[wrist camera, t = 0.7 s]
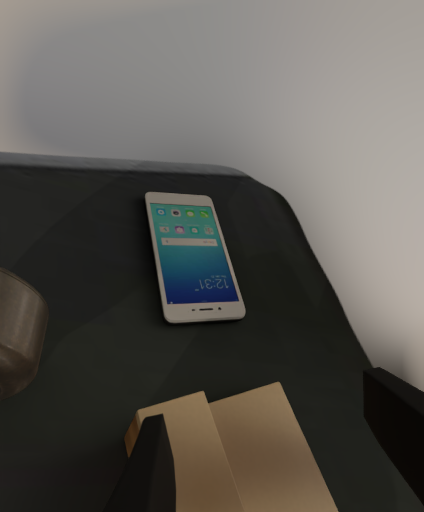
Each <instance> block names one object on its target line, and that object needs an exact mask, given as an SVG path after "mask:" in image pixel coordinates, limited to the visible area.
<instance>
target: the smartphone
mask: <svg viewBox="0 0 424 512" xmlns="http://www.w3.org/2000/svg"><path fill="white" fill-rule="evenodd" d="M144 205H145V211H146V217H147V223H148V230H149V236H150V242H151V248H152V254H153V261H154V267H155V275H156V280H157V286H158V292H159V298H160V304H161V311H162V317H163V320H164V322H165V323H167V324H168V325H182V324H198V323H214V322H230V321H239V320H242V318H243V317H244V315H245V307H244V303H243V300H242V297H241V294H240V290H239V287H238V284H237V281H236V277H235V274H234V271H233V268H232V264H231V261H230V258H229V255H228V251H227V248H226V245H225V242H224V238H223V235H222V232H221V229H220V225H219V222H218V219H217V216H216V212H215V209H214V206H213V203H212V200H211V198H209V197H208V196H201V195H187V194H173V193H159V192H148V193H146V195H145V199H144Z"/></svg>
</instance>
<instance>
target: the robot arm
mask: <svg viewBox="0 0 424 512" xmlns="http://www.w3.org/2000/svg"><path fill="white" fill-rule="evenodd" d="M363 391H364V417H365V419H366V421H367V423H368V425H369V427H370V429H371V430H372V432H373V434H374V436H375V437H376V439H377V441H378V443H379V444H380V446H381V447H382V448H383V450H384V451H385V453H386V454H387V456H388V457H389V458H390V460H391V461H392V462H393V464H394V465H395V467H396V468H397V469H398V471H399V472H400V474H401V475H402V476H403V478H404V479H405V480H406V482H407V483H408V485H409V486H410V487H411V489H412V490H413V491H414V493H415V494H416V496H417V497H418V498H419V500H420V501H421V502H422V504H423V505H424V392H423V391H421V390H419V389H417V388H415V387H414V386H412V385H410V384H409V383H406V382H405V381H403V380H402V379H400V378H398V377H396V376H395V375H393V374H391V373H389V372H388V371H386V370H384V369H382V368H380V367H377V368H372V369H368V370H363ZM103 512H176V480H175V467H174V458H173V453H172V449H171V445H170V441H169V437H168V432H167V428H166V424H165V420H164V416H163V413H162V414H158V415H153V416H148V417H145V418H144V420H143V421H142V424H141V428H140V431H139V434H138V436H137V439H136V442H135V444H134V447H133V449H132V452H131V454H130V457H129V459H128V461H127V463H126V466H125V468H124V470H123V473H122V475H121V477H120V479H119V481H118V483H117V485H116V487H115V489H114V491H113V493H112V495H111V497H110V499H109V501H108V503H107V504H106V506H105V508H104V510H103Z"/></svg>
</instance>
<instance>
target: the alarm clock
mask: <svg viewBox="0 0 424 512" xmlns="http://www.w3.org/2000/svg"><path fill="white" fill-rule="evenodd" d="M48 318H49V308H48V305H47V303H46V301H45V299H44V298H43V297H42V295H41V294H40V293H39V292H38V291H37V290H36V289H35V288H34V287H33V286H31V285H30V284H29V283H28V282H26V281H25V280H23V279H22V278H20V277H18V276H17V275H15V274H14V273H12V272H10V271H8V270H7V269H4V268H2V267H0V401H1V400H4V399H7V398H9V397H12V396H14V395H16V394H17V393H19V392H21V391H22V390H23V389H25V388H26V387H27V386H28V385H29V384H30V383H31V382H32V381H33V379H34V378H35V376H36V374H37V370H38V366H39V361H40V356H41V352H42V347H43V342H44V337H45V332H46V327H47V323H48Z"/></svg>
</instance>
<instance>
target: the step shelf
mask: <svg viewBox="0 0 424 512" xmlns="http://www.w3.org/2000/svg"><path fill="white" fill-rule="evenodd" d="M162 413H163V416H164V420H165V424H166V428H167V432H168V437H169V441H170V445H171V449H172V453H173V458H174V467H175V480H176V512H338V510H337V508H336V505H335V503H334V501H333V499H332V497H331V494H330V492H329V490H328V488H327V486H326V483H325V481H324V479H323V477H322V475H321V472H320V470H319V468H318V466H317V464H316V461H315V459H314V457H313V455H312V453H311V450H310V448H309V446H308V444H307V442H306V439H305V437H304V435H303V433H302V431H301V428H300V426H299V424H298V422H297V420H296V418H295V415H294V413H293V411H292V409H291V407H290V404H289V402H288V400H287V398H286V396H285V393H284V391H283V389H282V387H281V385H280V382H275V383H272V384H269V385H266V386H263V387H260V388H256V389H253V390H250V391H247V392H244V393H240V394H237V395H234V396H231V397H228V398H224V399H221V400H218V401H215V402H212V403H208V402H207V399H206V396H205V394H204V391H201V392H197V393H194V394H190V395H187V396H184V397H180V398H177V399H173V400H170V401H167V402H163V403H160V404H156V405H153V406H150V407H146V408H143V409H139V410H137V412H136V414H135V417H134V419H133V421H132V423H131V425H130V427H129V429H128V431H127V433H126V435H125V437H124V439H125V444H126V449H127V453H128V458H129V457H130V454H131V452H132V449H133V447H134V444H135V442H136V439H137V436H138V434H139V431H140V428H141V424H142V421H143V420H144V418H145V417H148V416H153V415H158V414H162Z"/></svg>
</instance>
